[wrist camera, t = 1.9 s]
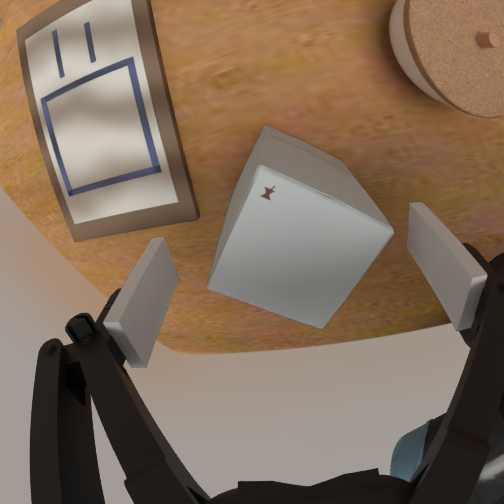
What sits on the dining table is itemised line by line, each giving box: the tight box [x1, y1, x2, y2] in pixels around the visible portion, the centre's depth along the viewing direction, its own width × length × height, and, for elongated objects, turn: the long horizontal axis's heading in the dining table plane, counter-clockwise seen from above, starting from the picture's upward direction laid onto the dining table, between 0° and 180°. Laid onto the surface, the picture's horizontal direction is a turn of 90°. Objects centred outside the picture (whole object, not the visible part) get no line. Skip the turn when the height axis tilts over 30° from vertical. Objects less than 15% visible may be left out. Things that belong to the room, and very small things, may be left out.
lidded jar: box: [389, 0, 504, 118], centre depth 14 cm, size 11×11×9 cm
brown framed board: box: [16, 0, 200, 242], centre depth 22 cm, size 24×14×1 cm, turn 10°
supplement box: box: [207, 125, 394, 329], centre depth 20 cm, size 7×7×13 cm
